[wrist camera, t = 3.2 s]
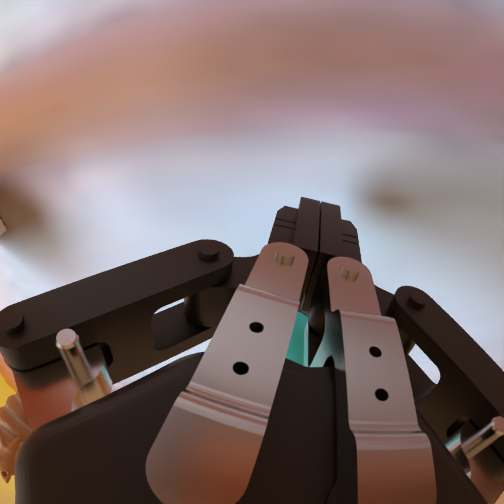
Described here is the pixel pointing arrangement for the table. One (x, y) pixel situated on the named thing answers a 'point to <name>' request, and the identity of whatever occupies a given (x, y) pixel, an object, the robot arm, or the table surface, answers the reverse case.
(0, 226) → the skincare box
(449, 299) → the table surface
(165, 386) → the robot arm
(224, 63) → the table surface
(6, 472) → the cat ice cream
